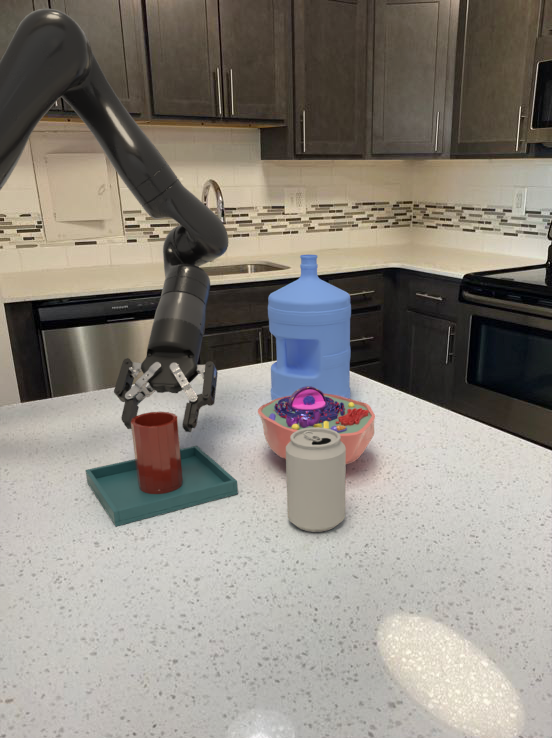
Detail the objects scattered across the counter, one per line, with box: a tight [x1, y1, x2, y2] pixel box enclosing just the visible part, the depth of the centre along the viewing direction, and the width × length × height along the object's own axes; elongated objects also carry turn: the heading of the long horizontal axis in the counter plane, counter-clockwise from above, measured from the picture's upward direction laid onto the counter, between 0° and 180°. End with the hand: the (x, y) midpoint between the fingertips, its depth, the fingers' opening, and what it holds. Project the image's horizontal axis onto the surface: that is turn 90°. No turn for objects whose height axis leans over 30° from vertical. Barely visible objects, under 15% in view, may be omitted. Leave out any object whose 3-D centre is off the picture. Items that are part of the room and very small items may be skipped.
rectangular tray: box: [84, 445, 239, 527], centre depth 95 cm, size 17×15×2 cm
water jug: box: [267, 254, 352, 401], centre depth 126 cm, size 16×16×28 cm
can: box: [285, 427, 347, 533], centre depth 84 cm, size 8×8×12 cm
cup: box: [131, 411, 183, 494], centre depth 93 cm, size 6×6×10 cm
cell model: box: [257, 386, 376, 466], centre depth 102 cm, size 17×20×11 cm
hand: (157, 428), depth 93 cm, fingers open, 8 cm apart
